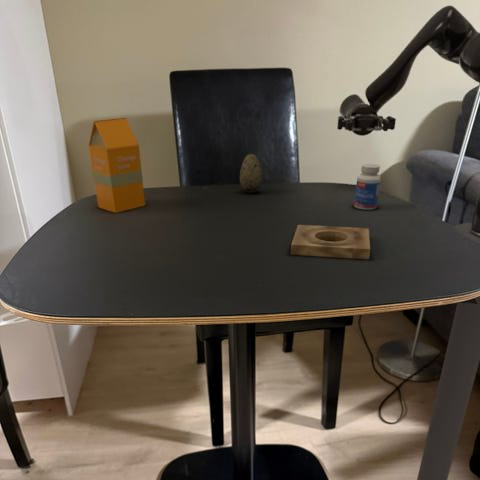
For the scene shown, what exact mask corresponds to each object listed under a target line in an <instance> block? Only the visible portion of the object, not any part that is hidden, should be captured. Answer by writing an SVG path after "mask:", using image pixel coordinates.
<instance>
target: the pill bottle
mask: <svg viewBox="0 0 480 480" xmlns="http://www.w3.org/2000/svg"><path fill="white" fill-rule="evenodd" d="M360 171H361V173H360V174H359V175H357V178H356V186H355V194H354V201H353V206H354V207H355V209H358V210H363V211H371V210H375V209H376V208H377V207H378V203H379V195H380V189H381V181H382V178H381V176H380V175H379V173H380V165H378V164H374V163H364V164H362V165H361V170H360Z"/></svg>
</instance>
